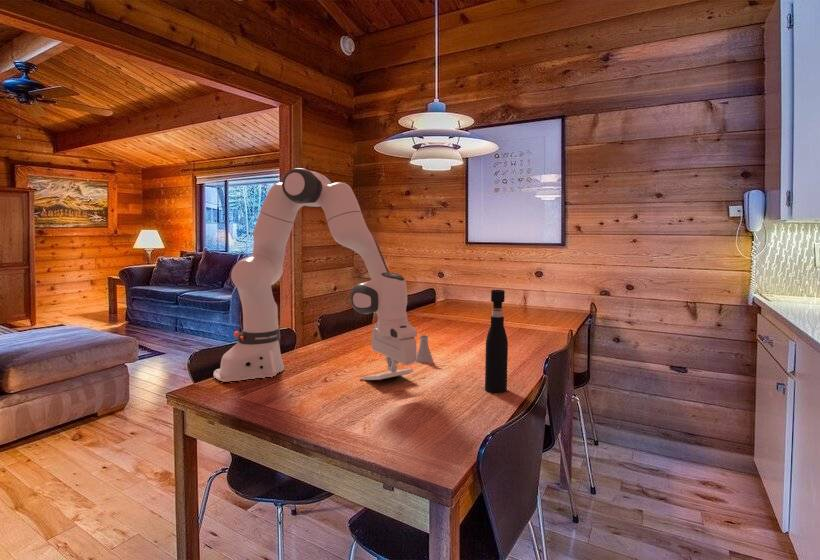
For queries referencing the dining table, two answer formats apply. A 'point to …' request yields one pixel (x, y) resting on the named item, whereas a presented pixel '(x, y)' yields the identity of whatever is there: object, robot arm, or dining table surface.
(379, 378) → the tile
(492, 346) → the wine bottle
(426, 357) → the flask
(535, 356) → the dining table surface
